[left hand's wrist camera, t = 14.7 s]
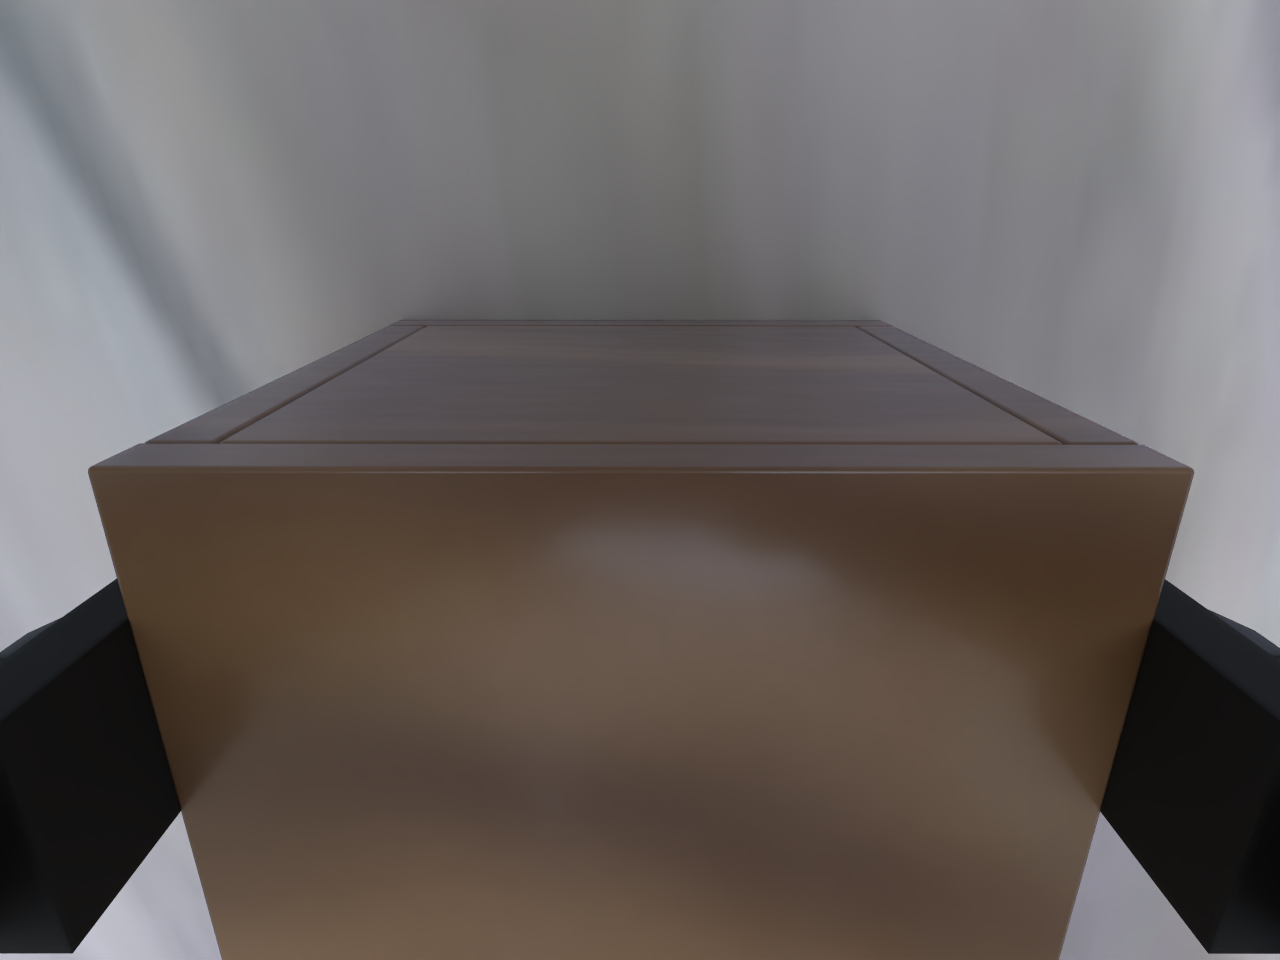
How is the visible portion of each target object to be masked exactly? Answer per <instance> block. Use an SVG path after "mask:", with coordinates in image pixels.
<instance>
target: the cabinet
mask: <svg viewBox="0 0 1280 960" xmlns="http://www.w3.org/2000/svg"><path fill="white" fill-rule="evenodd" d="M88 474H89V478H90V481H91V485H92V488H93V492H94V496H95V499H96V503H97V507H98V510H99V514H100V517H101V521H102V525H103V528H104V532H105V536H106V539H107V543H108V547H109V550H110V554H111V557H112V561H113V565H114V568H115V572H116V576H117V579H118V583H119V587H120V590H121V594H122V597H123V601H124V605H125V608H126V612H127V616H128V619H129V623H130V626H131V630H132V634H133V637H134V641H135V645H136V648H137V652H138V656H139V659H140V663H141V666H142V670H143V674H144V677H145V681H146V685H147V688H148V692H149V696H150V699H151V703H152V706H153V710H154V714H155V717H156V721H157V725H158V728H159V732H160V736H161V739H162V743H163V746H164V750H165V754H166V757H167V761H168V765H169V768H170V772H171V775H172V779H173V783H174V786H175V790H176V794H177V797H178V801H179V805H180V808H181V812H182V815H183V819H184V823H185V826H186V830H187V834H188V837H189V841H190V845H191V848H192V852H193V855H194V859H195V863H196V866H197V870H198V874H199V877H200V881H201V885H202V888H203V892H204V895H205V899H206V903H207V906H208V910H209V914H210V917H211V921H212V924H213V928H214V932H215V935H216V939H217V943H218V946H219V950H220V954H221V957H222V960H1059V957H1060V953H1061V950H1062V946H1063V943H1064V939H1065V935H1066V932H1067V928H1068V925H1069V921H1070V917H1071V914H1072V910H1073V907H1074V903H1075V899H1076V896H1077V892H1078V889H1079V885H1080V882H1081V878H1082V874H1083V871H1084V867H1085V864H1086V860H1087V856H1088V853H1089V849H1090V846H1091V842H1092V838H1093V835H1094V831H1095V828H1096V824H1097V820H1098V817H1099V813H1100V810H1101V806H1102V802H1103V799H1104V795H1105V792H1106V788H1107V784H1108V781H1109V777H1110V774H1111V770H1112V766H1113V763H1114V759H1115V756H1116V752H1117V748H1118V745H1119V741H1120V738H1121V734H1122V730H1123V727H1124V723H1125V720H1126V716H1127V713H1128V709H1129V705H1130V702H1131V698H1132V695H1133V691H1134V687H1135V684H1136V680H1137V677H1138V673H1139V669H1140V666H1141V662H1142V659H1143V655H1144V651H1145V648H1146V644H1147V641H1148V637H1149V633H1150V630H1151V626H1152V623H1153V619H1154V615H1155V612H1156V608H1157V605H1158V601H1159V597H1160V594H1161V590H1162V587H1163V583H1164V579H1165V576H1166V572H1167V569H1168V565H1169V561H1170V558H1171V554H1172V551H1173V547H1174V544H1175V540H1176V536H1177V533H1178V529H1179V526H1180V522H1181V518H1182V515H1183V511H1184V508H1185V504H1186V500H1187V497H1188V493H1189V490H1190V486H1191V482H1192V479H1193V475H1194V470H1193V469H1192V468H1190V467H1188V466H1186V465H1184V464H1182V463H1180V462H1178V461H1176V460H1174V459H1171V458H1169V457H1167V456H1165V455H1163V454H1161V453H1159V452H1157V451H1155V450H1153V449H1150V448H1148V447H1146V446H1144V445H1139V444H1138V443H1137V442H1134V441H1132V440H1130V439H1128V438H1126V437H1124V436H1122V435H1120V434H1118V433H1116V432H1113V431H1111V430H1109V429H1107V428H1105V427H1103V426H1101V425H1099V424H1097V423H1095V422H1092V421H1090V420H1088V419H1086V418H1084V417H1082V416H1080V415H1078V414H1076V413H1074V412H1071V411H1069V410H1067V409H1065V408H1063V407H1061V406H1059V405H1057V404H1055V403H1053V402H1050V401H1048V400H1046V399H1044V398H1042V397H1040V396H1038V395H1036V394H1034V393H1032V392H1029V391H1027V390H1025V389H1023V388H1021V387H1019V386H1017V385H1015V384H1013V383H1011V382H1008V381H1006V380H1004V379H1002V378H1000V377H998V376H996V375H994V374H992V373H990V372H987V371H985V370H983V369H981V368H979V367H977V366H975V365H973V364H971V363H969V362H966V361H964V360H962V359H960V358H958V357H956V356H954V355H952V354H950V353H948V352H945V351H943V350H941V349H939V348H937V347H935V346H933V345H931V344H929V343H927V342H924V341H922V340H920V339H918V338H916V337H914V336H912V335H910V334H908V333H906V332H903V331H901V330H899V329H897V328H895V327H893V326H891V325H889V324H887V323H884V322H882V321H687V320H400V321H398V322H396V323H394V324H392V325H390V326H388V327H386V328H384V329H382V330H380V331H378V332H376V333H374V334H371V335H369V336H367V337H365V338H363V339H361V340H359V341H357V342H355V343H353V344H350V345H348V346H346V347H344V348H342V349H340V350H338V351H336V352H334V353H331V354H329V355H327V356H325V357H323V358H321V359H319V360H317V361H315V362H313V363H310V364H308V365H306V366H304V367H302V368H300V369H298V370H296V371H294V372H292V373H289V374H287V375H285V376H283V377H281V378H279V379H277V380H275V381H273V382H271V383H268V384H266V385H264V386H262V387H260V388H258V389H256V390H254V391H252V392H249V393H247V394H245V395H243V396H241V397H239V398H237V399H235V400H233V401H231V402H228V403H226V404H224V405H222V406H220V407H218V408H216V409H214V410H212V411H210V412H207V413H205V414H203V415H201V416H199V417H197V418H195V419H193V420H191V421H188V422H186V423H184V424H182V425H180V426H178V427H176V428H174V429H172V430H170V431H167V432H165V433H163V434H161V435H159V436H157V437H155V438H153V439H151V440H149V441H146V442H145V443H144V444H138V445H136V446H133V447H131V448H129V449H127V450H125V451H123V452H121V453H119V454H117V455H114V456H112V457H110V458H108V459H106V460H104V461H102V462H100V463H98V464H95V465H93V466H91V467H90V468H89V469H88Z"/></svg>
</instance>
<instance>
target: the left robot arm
mask: <svg viewBox="0 0 1280 960" xmlns="http://www.w3.org/2000/svg"><path fill="white" fill-rule="evenodd" d="M180 811H181V808H180V805H179V801H178V797H177V794H176V790H175V786H174V783H173V779H172V775H171V772H170V768H169V765H168V761H167V757H166V754H165V750H164V746H163V743H162V739H161V736H160V732H159V728H158V725H157V721H156V717H155V714H154V710H153V706H152V703H151V699H150V696H149V692H148V688H147V685H146V681H145V677H144V674H143V670H142V666H141V663H140V659H139V656H138V652H137V648H136V645H135V641H134V637H133V634H132V630H131V626H130V623H129V619H128V616H127V612H126V608H125V605H124V601H123V597H122V594H121V590H120V587H119V583H118V579H116V580H114V581H113V582H111V583H110V584H109V585H107V586H106V587H104V588H103V589H102V590H100V591H99V592H97V593H96V594H94V595H93V596H92V597H90V598H89V599H87V600H86V601H85V602H83V603H82V604H80V605H79V606H78V607H76V608H75V609H73V610H72V611H71V612H69V613H68V614H66V615H65V616H64V617H62V618H60V619H58V620H55V621H53V622H51V623H49V624H47V625H45V626H42V627H40V628H38V629H36V630H34V631H32V632H29V633H27V634H26V635H24V636H23V637H22V638H20V639H19V640H17V641H16V642H14V643H13V644H12V645H10V646H9V647H7V648H6V649H4V650H3V651H1V652H0V953H73V952H74V951H75V950H76V948H77V947H78V946H79V944H80V943H81V942H82V940H83V939H84V938H85V936H86V935H87V934H88V932H89V931H90V930H91V928H92V927H93V926H94V925H95V923H96V922H97V921H98V919H99V918H100V917H101V915H102V914H103V913H104V911H105V910H106V909H107V907H108V906H109V905H110V903H111V902H112V901H113V900H114V898H115V897H116V896H117V894H118V893H119V892H120V890H121V889H122V888H123V886H124V885H125V884H126V882H127V881H128V880H129V878H130V877H131V876H132V875H133V873H134V872H135V871H136V869H137V868H138V867H139V865H140V864H141V863H142V861H143V860H144V859H145V857H146V856H147V855H148V853H149V852H150V851H151V849H152V848H153V847H154V846H155V844H156V843H157V842H158V840H159V839H160V838H161V836H162V835H163V834H164V832H165V831H166V830H167V828H168V827H169V826H170V824H171V823H172V822H173V821H174V819H175V818H176V817H177V815H178V814H179V813H180ZM1100 811H1101V813H1102V814H1103V815H1104V817H1105V818H1106V819H1107V821H1108V822H1109V823H1110V825H1111V826H1112V827H1113V829H1114V830H1115V831H1116V833H1117V834H1118V835H1119V836H1120V838H1121V839H1122V840H1123V842H1124V843H1125V844H1126V846H1127V847H1128V848H1129V850H1130V851H1131V852H1132V854H1133V855H1134V856H1135V858H1136V859H1137V860H1138V861H1139V863H1140V864H1141V865H1142V867H1143V868H1144V869H1145V871H1146V872H1147V873H1148V875H1149V876H1150V877H1151V879H1152V880H1153V881H1154V883H1155V884H1156V885H1157V887H1158V888H1159V889H1160V890H1161V892H1162V893H1163V894H1164V896H1165V897H1166V898H1167V900H1168V901H1169V902H1170V904H1171V905H1172V906H1173V908H1174V909H1175V910H1176V912H1177V913H1178V914H1179V915H1180V917H1181V918H1182V919H1183V921H1184V922H1185V923H1186V925H1187V926H1188V927H1189V929H1190V930H1191V931H1192V933H1193V934H1194V935H1195V937H1196V938H1197V939H1198V940H1199V942H1200V943H1201V944H1202V946H1203V947H1204V948H1205V950H1206V951H1207V952H1208V953H1219V954H1280V648H1279V647H1277V646H1276V645H1275V644H1273V643H1272V642H1270V641H1269V640H1267V639H1266V638H1264V637H1263V636H1262V635H1260V634H1259V633H1257V632H1256V631H1254V630H1252V629H1250V628H1248V627H1245V626H1243V625H1241V624H1239V623H1237V622H1234V621H1232V620H1230V619H1228V618H1226V617H1223V616H1221V615H1219V614H1217V613H1215V612H1212V611H1210V610H1208V609H1206V608H1205V607H1203V606H1202V605H1201V604H1199V603H1198V602H1196V601H1195V600H1193V599H1192V598H1191V597H1189V596H1188V595H1186V594H1185V593H1184V592H1182V591H1181V590H1179V589H1178V588H1177V587H1175V586H1174V585H1172V584H1171V583H1170V582H1168V581H1167V580H1165V579H1164V583H1163V587H1162V590H1161V594H1160V597H1159V601H1158V605H1157V608H1156V612H1155V615H1154V619H1153V623H1152V626H1151V630H1150V633H1149V637H1148V641H1147V644H1146V648H1145V651H1144V655H1143V659H1142V662H1141V666H1140V669H1139V673H1138V677H1137V680H1136V684H1135V687H1134V691H1133V695H1132V698H1131V702H1130V705H1129V709H1128V713H1127V716H1126V720H1125V723H1124V727H1123V730H1122V734H1121V738H1120V741H1119V745H1118V748H1117V752H1116V756H1115V759H1114V763H1113V766H1112V770H1111V774H1110V777H1109V781H1108V784H1107V788H1106V792H1105V795H1104V799H1103V802H1102V806H1101V810H1100Z"/></svg>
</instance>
